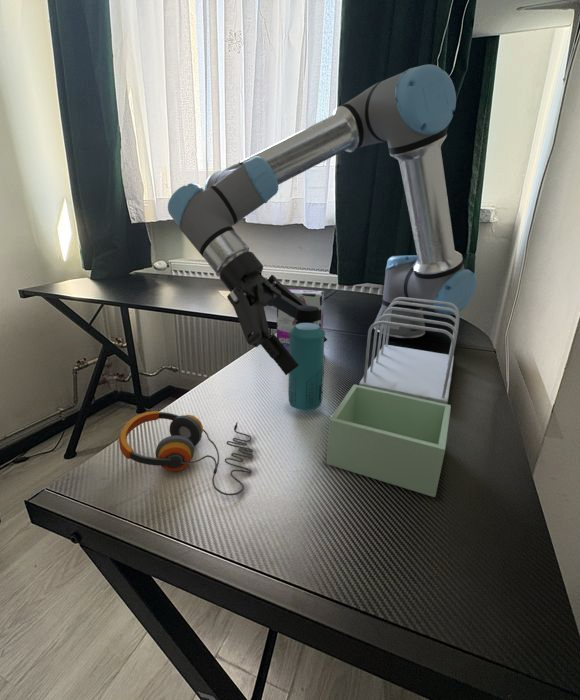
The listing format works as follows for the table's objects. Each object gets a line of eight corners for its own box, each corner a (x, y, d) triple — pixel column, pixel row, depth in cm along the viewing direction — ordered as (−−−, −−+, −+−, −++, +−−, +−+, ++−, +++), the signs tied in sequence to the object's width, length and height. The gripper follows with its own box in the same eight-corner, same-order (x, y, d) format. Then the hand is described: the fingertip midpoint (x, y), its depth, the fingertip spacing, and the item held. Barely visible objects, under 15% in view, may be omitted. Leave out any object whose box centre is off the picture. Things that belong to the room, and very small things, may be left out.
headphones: (250, 483, 49) (95, 448, 47) (242, 514, 50) (93, 481, 49) (263, 415, 64) (147, 387, 63) (256, 440, 66) (143, 414, 65)
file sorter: (382, 351, 100) (389, 293, 94) (452, 363, 94) (465, 302, 88) (358, 390, 79) (365, 319, 73) (446, 409, 72) (462, 333, 67)
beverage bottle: (322, 418, 68) (329, 312, 61) (286, 417, 68) (288, 311, 61) (320, 400, 74) (326, 302, 67) (287, 400, 74) (289, 301, 67)
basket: (350, 422, 67) (353, 384, 64) (442, 446, 61) (451, 405, 58) (326, 464, 57) (329, 419, 54) (435, 497, 51) (445, 449, 48)
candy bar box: (321, 352, 98) (325, 290, 92) (319, 359, 94) (323, 294, 88) (280, 348, 100) (281, 287, 94) (275, 355, 96) (276, 291, 90)
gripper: (256, 267, 80) (318, 345, 80) (176, 289, 59) (261, 395, 59) (279, 243, 76) (344, 325, 76) (202, 258, 55) (293, 371, 55)
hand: (308, 356), depth 67 cm, fingers open, 13 cm apart
